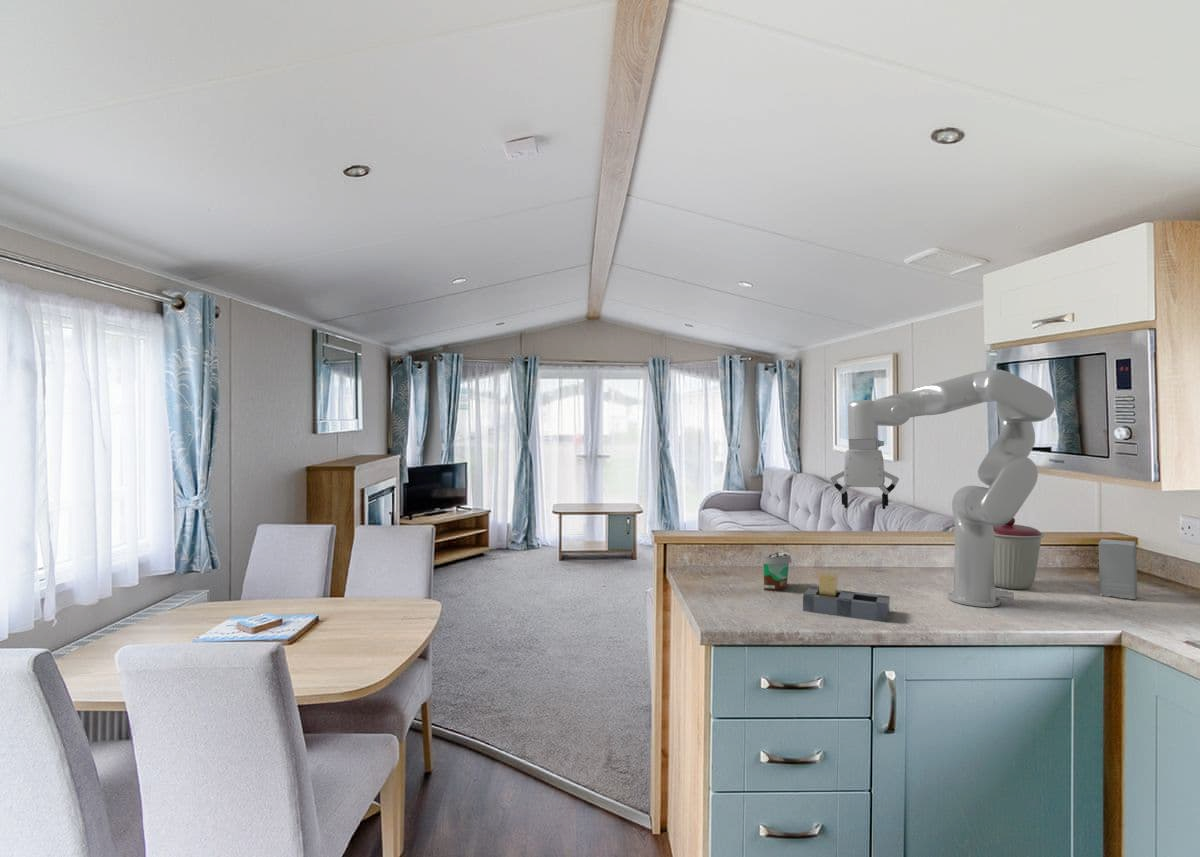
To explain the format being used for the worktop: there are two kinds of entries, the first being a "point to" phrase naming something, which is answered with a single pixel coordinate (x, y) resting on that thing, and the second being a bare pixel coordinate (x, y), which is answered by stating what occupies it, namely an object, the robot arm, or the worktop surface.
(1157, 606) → the worktop surface
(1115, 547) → the skincare box
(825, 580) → the brass peg
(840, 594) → the grey peg board
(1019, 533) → the canister
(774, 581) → the food container
